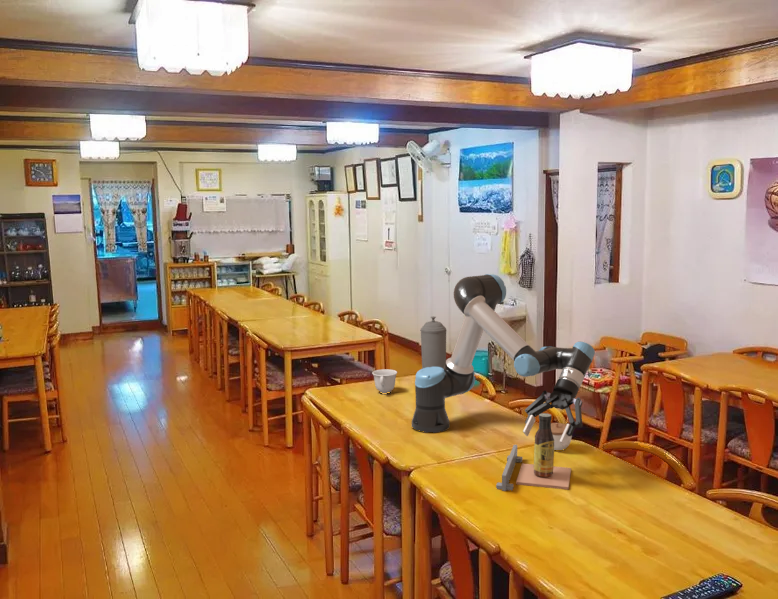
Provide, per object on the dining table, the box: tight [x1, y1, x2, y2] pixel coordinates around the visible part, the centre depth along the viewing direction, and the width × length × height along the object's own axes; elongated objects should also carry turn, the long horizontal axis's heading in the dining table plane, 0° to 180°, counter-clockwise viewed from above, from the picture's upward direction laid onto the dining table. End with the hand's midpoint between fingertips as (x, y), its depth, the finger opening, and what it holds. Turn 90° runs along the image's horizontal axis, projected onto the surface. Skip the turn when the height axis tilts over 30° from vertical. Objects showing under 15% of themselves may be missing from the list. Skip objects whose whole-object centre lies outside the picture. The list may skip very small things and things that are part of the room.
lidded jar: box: [551, 422, 573, 451], centre depth 246 cm, size 11×11×9 cm
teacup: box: [371, 368, 398, 393], centre depth 322 cm, size 12×15×10 cm
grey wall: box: [495, 444, 523, 492], centre depth 223 cm, size 5×28×5 cm, turn 162°
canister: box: [420, 316, 448, 369], centre depth 329 cm, size 13×13×35 cm
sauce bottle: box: [533, 412, 555, 477], centre depth 219 cm, size 7×6×20 cm
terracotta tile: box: [515, 462, 572, 490], centre depth 220 cm, size 16×16×1 cm
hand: (543, 438), depth 218 cm, fingers open, 13 cm apart
